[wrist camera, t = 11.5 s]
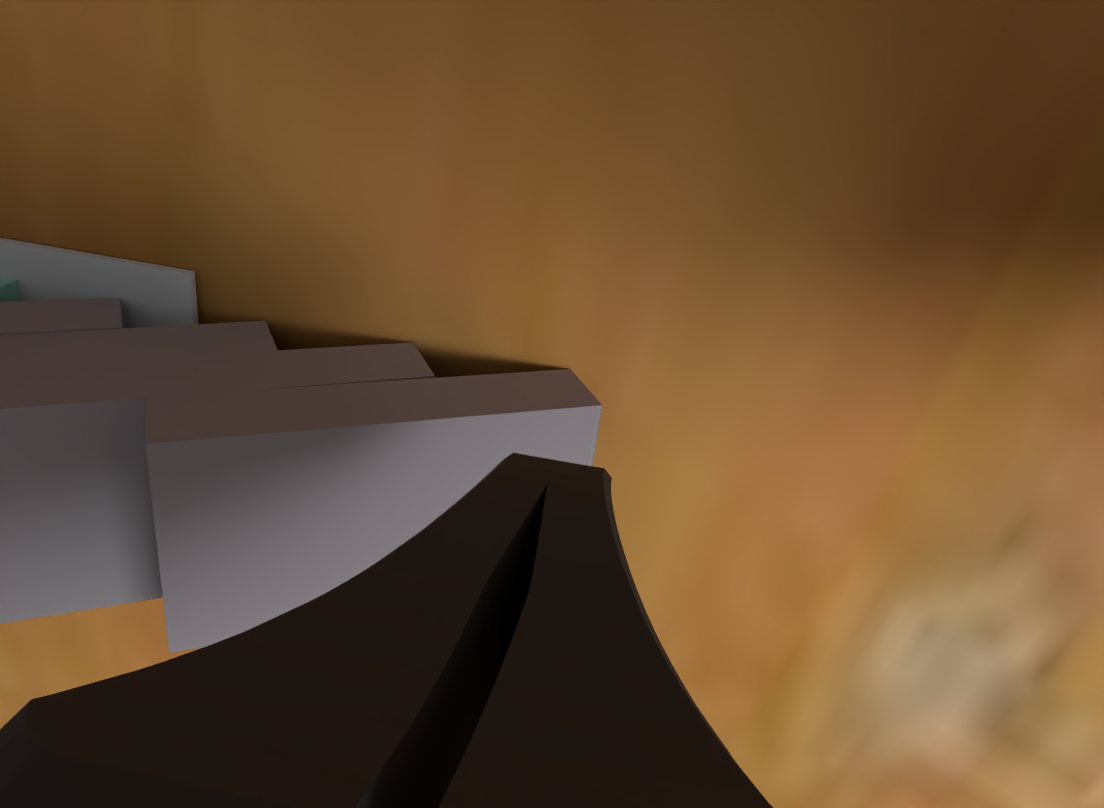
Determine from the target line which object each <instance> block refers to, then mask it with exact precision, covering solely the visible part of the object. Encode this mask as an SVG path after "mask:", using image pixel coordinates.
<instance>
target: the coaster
mask: <svg viewBox="0 0 1104 808" xmlns="http://www.w3.org/2000/svg"><path fill="white" fill-rule="evenodd" d="M0 276H1V277H7V278H13V279H18V284H19V290H20V296H21V301H42V300H71V299H100V298H120V303H121V312H122V321H123V328H140V327H158V326H176V325H194V324H199V322H198V309H197V296H196V283H195V271H192V270H186V269H180V268H174V267H168V266H163V265H157V264H151V263H145V262H139V261H133V260H127V259H122V258H116V257H110V256H104V255H98V254H92V253H87V252H81V251H75V250H69V249H63V248H57V247H52V246H46V245H40V244H34V243H28V242H22V241H16V240H11V239H5V238H0Z"/></svg>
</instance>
